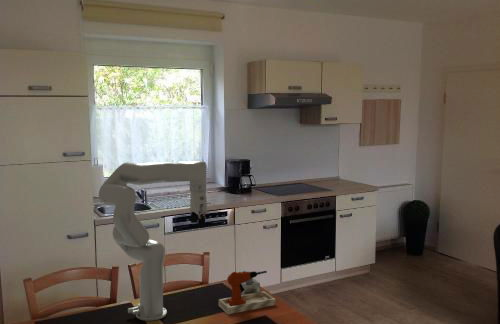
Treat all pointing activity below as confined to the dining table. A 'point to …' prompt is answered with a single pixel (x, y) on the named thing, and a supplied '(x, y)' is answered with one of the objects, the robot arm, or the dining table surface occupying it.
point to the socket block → (251, 287)
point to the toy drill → (239, 285)
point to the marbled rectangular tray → (248, 302)
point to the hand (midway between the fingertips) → (197, 224)
